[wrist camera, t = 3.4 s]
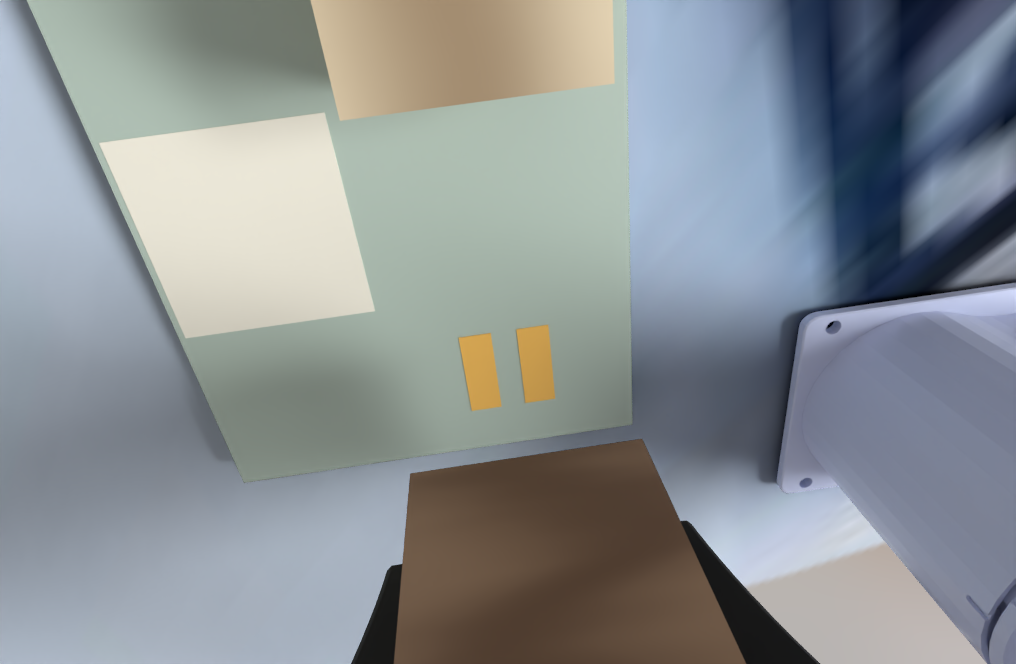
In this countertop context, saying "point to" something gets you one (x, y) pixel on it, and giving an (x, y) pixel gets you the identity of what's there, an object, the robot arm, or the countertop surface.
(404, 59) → the oak block
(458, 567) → the walnut block
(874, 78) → the countertop surface
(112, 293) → the countertop surface
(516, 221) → the board
